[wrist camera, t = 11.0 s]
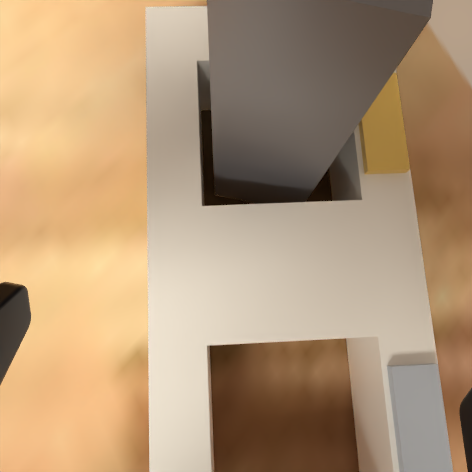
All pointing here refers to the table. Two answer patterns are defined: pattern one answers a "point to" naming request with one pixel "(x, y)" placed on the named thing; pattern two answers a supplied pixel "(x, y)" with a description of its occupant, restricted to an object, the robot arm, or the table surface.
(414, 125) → the table surface
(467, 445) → the robot arm
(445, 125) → the table surface
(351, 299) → the socket block
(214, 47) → the plug
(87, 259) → the table surface
